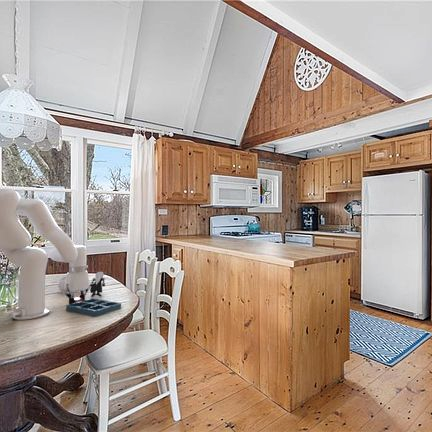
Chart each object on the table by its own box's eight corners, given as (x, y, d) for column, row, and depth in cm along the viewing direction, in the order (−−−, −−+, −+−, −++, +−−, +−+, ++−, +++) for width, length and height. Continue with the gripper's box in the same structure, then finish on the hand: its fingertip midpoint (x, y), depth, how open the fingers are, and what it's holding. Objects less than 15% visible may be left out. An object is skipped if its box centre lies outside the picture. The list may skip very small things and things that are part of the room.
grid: (95, 316, 142) (95, 310, 142) (66, 310, 149) (66, 305, 149) (121, 308, 155) (121, 303, 155) (92, 303, 162) (93, 298, 162)
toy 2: (106, 308, 184) (110, 286, 194) (102, 291, 171) (107, 268, 180) (92, 309, 181) (97, 287, 191) (86, 292, 168) (92, 269, 178)
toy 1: (87, 291, 191) (67, 294, 177) (73, 288, 193) (51, 291, 178) (90, 277, 192) (70, 278, 178) (76, 274, 194) (55, 276, 179)
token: (75, 306, 156) (75, 300, 156) (69, 304, 158) (69, 299, 158) (84, 303, 160) (84, 298, 160) (78, 302, 162) (78, 297, 162)
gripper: (88, 266, 168) (87, 299, 168) (55, 271, 152) (54, 307, 153) (97, 267, 166) (97, 300, 166) (65, 272, 150) (64, 309, 150)
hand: (76, 303), depth 159 cm, fingers closed on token, 4 cm apart
